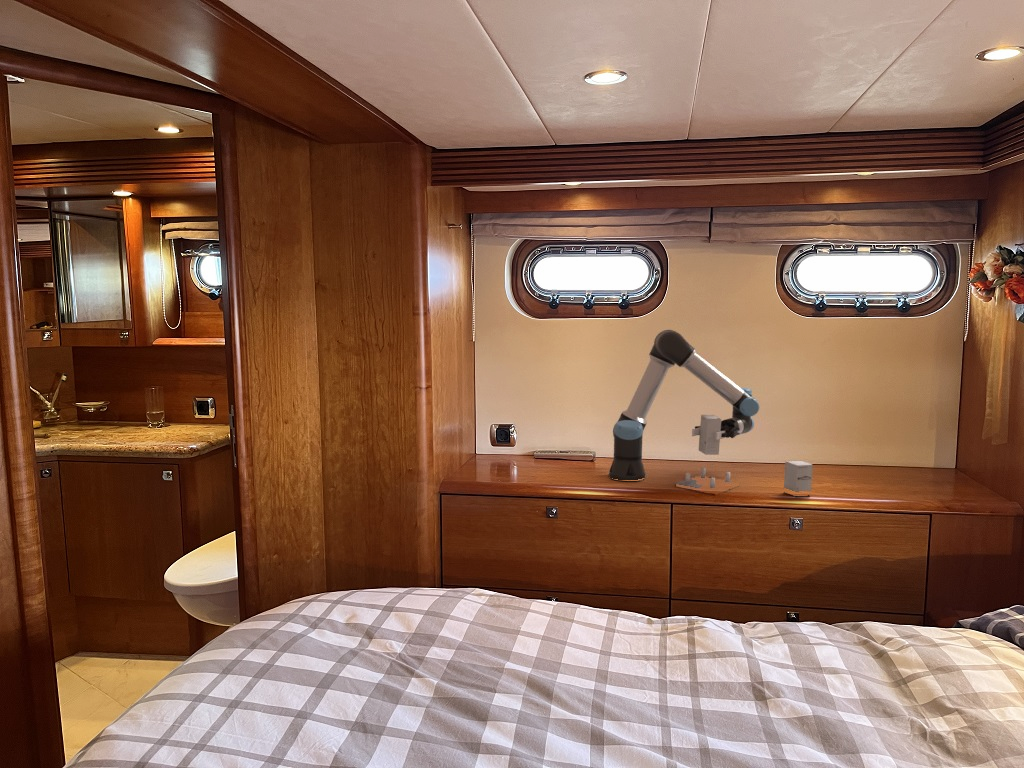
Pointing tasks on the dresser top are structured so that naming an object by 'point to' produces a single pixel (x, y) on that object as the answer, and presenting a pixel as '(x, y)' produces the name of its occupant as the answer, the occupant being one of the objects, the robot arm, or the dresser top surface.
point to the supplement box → (798, 476)
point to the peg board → (692, 483)
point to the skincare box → (709, 434)
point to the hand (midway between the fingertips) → (704, 434)
